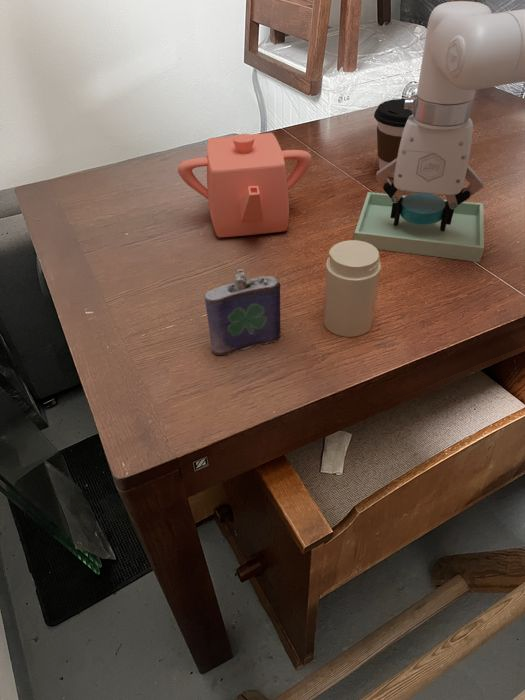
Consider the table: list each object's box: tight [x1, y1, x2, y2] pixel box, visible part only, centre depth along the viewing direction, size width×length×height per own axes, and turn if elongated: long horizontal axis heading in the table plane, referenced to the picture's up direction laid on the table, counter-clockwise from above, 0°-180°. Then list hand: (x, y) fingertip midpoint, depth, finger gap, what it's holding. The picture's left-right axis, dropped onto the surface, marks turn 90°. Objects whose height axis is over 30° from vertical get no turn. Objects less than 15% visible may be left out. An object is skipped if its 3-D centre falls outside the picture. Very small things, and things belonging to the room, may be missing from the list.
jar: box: [322, 239, 382, 338], centre depth 64 cm, size 7×7×11 cm
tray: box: [353, 191, 485, 263], centre depth 82 cm, size 19×14×2 cm
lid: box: [400, 192, 445, 225], centre depth 81 cm, size 7×7×2 cm
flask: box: [204, 269, 282, 356], centre depth 61 cm, size 9×3×11 cm, turn 109°
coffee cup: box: [373, 98, 413, 179], centre depth 96 cm, size 11×11×12 cm
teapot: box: [177, 132, 312, 238], centre depth 82 cm, size 20×22×14 cm
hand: (419, 223), depth 82 cm, fingers closed on lid, 6 cm apart
